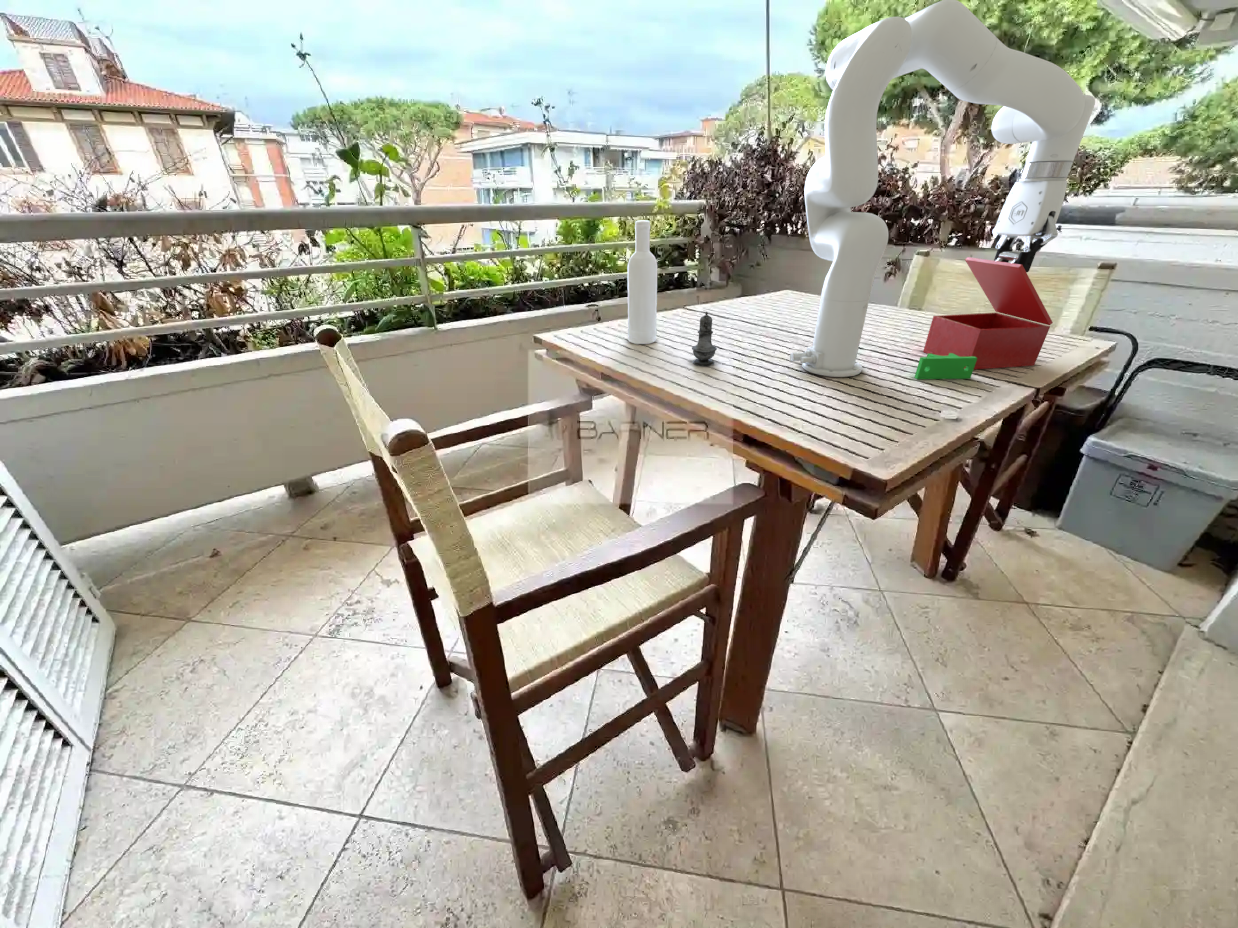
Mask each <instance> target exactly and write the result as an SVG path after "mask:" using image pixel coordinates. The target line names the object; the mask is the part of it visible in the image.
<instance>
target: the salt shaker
mask: <svg viewBox="0 0 1238 928" xmlns="http://www.w3.org/2000/svg"><path fill="white" fill-rule="evenodd" d="M713 333H714V331H713V317H712V316H710V315H709V313H708V311H705V314H704V315H703V316H701V317H700V319H699V329H698V331H697V334H698V341H697V344H696V345H695V344H694V345H693V346H692V347H691V350H692V353H693V356H694V357H695V359H694V360H692V362H691V363H692V365H694V366H699V367H710V366H714V365H715V361H714V360H713V359H712V358H713V357H714V356H715V354H716V351H717V350H718V348H717V346H715V345H713V343H712V335H713Z"/></svg>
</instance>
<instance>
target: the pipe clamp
mask: <svg viewBox="0 0 1238 928" xmlns="http://www.w3.org/2000/svg"><path fill="white" fill-rule="evenodd" d="M976 361H977V358H976V357H974V356H969V357H959V356H957V355H955V354H953V353H949V355H948V356H940V355H934V354H932V353H928V354H927V355H926V356H920V357H919V361H918V362H917V363H918V364H917V366H916V371H915V374H914V379H917V380H957V379H958V380H959V379H960V380H961V379H963V380H965V379H967V380H968V379H971V378H972V375H973V372H974V370H975V369H974V366H975V364H976ZM965 367H966V368H965ZM964 368H965V369H964Z"/></svg>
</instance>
